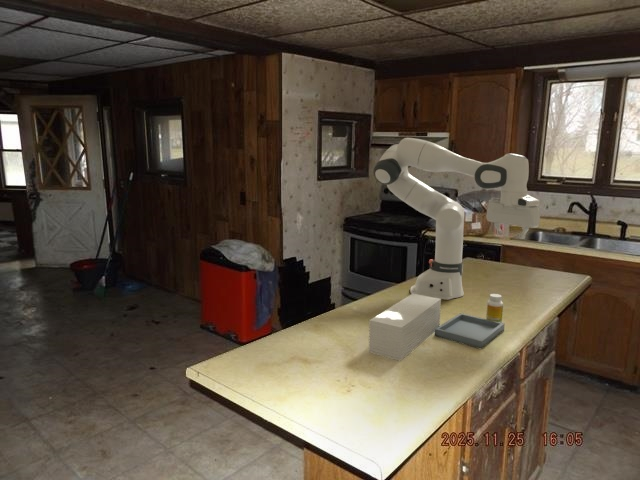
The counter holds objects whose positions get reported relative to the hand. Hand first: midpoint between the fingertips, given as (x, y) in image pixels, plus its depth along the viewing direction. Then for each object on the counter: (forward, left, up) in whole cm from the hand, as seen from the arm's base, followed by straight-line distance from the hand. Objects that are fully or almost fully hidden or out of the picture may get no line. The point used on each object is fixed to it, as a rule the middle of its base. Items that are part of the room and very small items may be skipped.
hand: (510, 236), depth 175 cm
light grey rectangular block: (-35, -33, -30) cm, 57 cm away
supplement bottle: (-5, -9, -30) cm, 32 cm away
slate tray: (-14, -23, -30) cm, 40 cm away
